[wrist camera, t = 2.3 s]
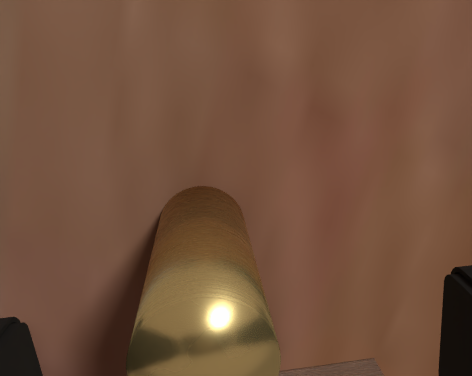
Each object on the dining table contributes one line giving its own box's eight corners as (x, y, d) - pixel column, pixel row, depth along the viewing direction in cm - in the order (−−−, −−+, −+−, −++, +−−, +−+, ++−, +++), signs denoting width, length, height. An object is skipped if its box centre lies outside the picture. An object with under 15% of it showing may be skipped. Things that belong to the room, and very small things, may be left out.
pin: (214, 279, 18) (225, 447, 10) (143, 239, 17) (97, 388, 9) (260, 214, 17) (310, 342, 9) (188, 170, 16) (179, 270, 9)
